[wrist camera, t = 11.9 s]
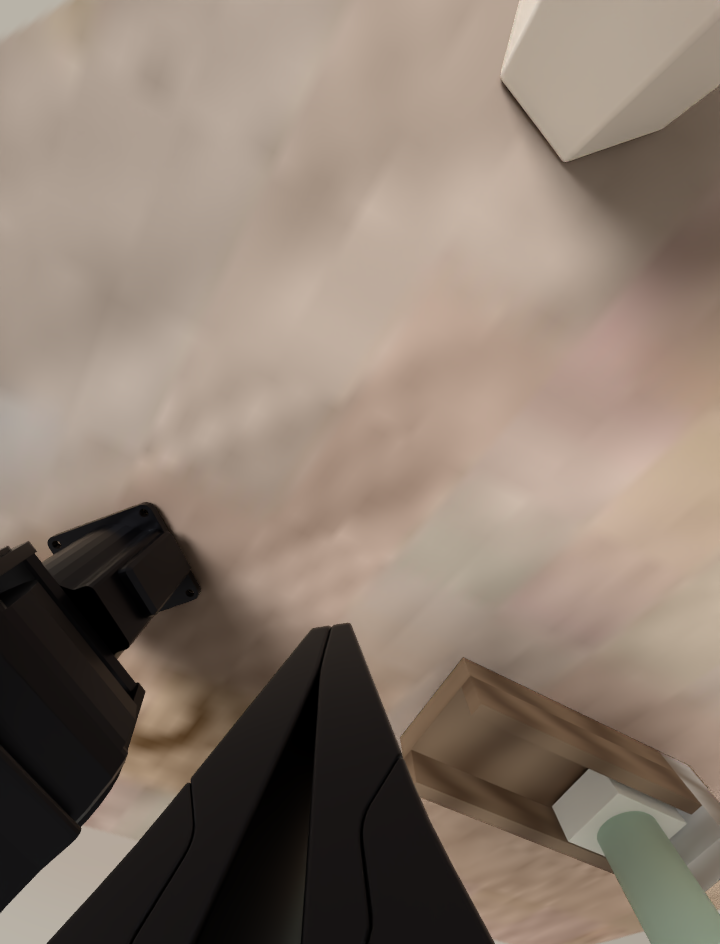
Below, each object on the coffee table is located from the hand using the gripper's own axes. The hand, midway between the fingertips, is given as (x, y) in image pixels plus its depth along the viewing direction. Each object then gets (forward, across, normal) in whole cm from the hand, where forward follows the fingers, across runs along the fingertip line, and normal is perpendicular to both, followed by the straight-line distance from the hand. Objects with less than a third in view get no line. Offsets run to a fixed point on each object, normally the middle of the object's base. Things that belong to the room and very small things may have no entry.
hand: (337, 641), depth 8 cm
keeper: (+12, -12, +27) cm, 32 cm away
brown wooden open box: (+14, -9, +24) cm, 29 cm away
